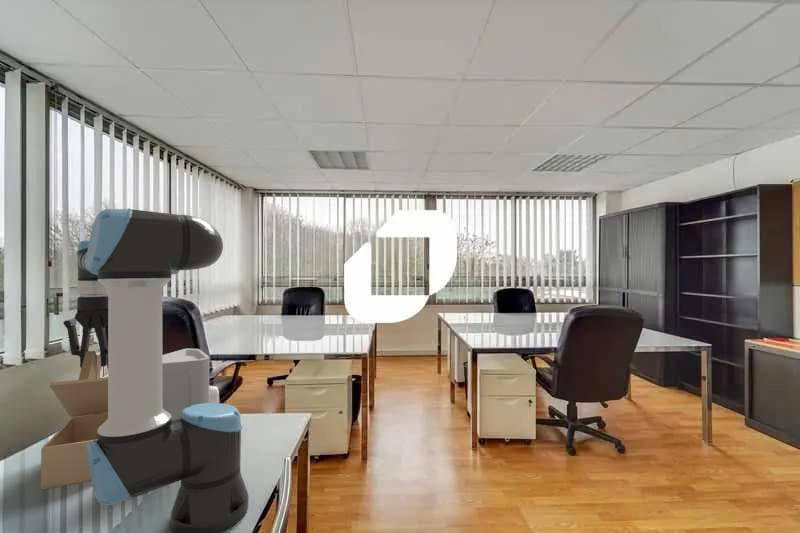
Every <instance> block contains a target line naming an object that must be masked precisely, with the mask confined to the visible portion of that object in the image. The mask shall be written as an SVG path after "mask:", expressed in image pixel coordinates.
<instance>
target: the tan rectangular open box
mask: <svg viewBox="0 0 800 533" xmlns="http://www.w3.org/2000/svg"><path fill="white" fill-rule="evenodd" d="M107 419H108V413H101V414H93V415H85V416H77V417H70V419H68V421H67V422H66V423H65V424H63V426H62V427H61V428H60V429H59V430H58V431H57V432H56V433H55V434H54V435H53V436H52V437H51V438H50V439H49V440H48V441H47V442H46V443H45V444H44V445H43V446H42V448H41V450H40V453H41V454H40V459H41V460H40V465H41V466H40V490H41V491H43V490H48V489H49V490H50V489H54V488H59V487H64V486H69V485H70V486H71V485H76V484H79V483H80V484H81V483H85V482H86V483H87V482H92V481H91V477H90V472H89V467H88V461H87V453H86V452H87V448H86V446H87V444H88V443H90V442H92V441H93V440H97V439H98V428H99V427H100V426H101V425H102V424H103V423H104V422H105V421H106V420H107Z"/></svg>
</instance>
